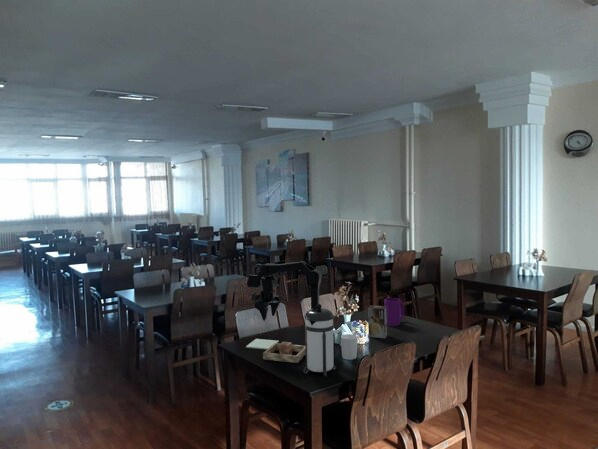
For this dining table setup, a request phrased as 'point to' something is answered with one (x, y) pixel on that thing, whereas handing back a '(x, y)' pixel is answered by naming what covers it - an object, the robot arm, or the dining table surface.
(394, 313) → the mug
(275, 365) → the dining table surface
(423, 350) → the dining table surface
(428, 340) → the dining table surface
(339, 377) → the dining table surface
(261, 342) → the sage board
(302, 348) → the pine frame
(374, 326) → the coffee box
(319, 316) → the coffee press
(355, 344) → the white cup
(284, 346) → the terracotta block
